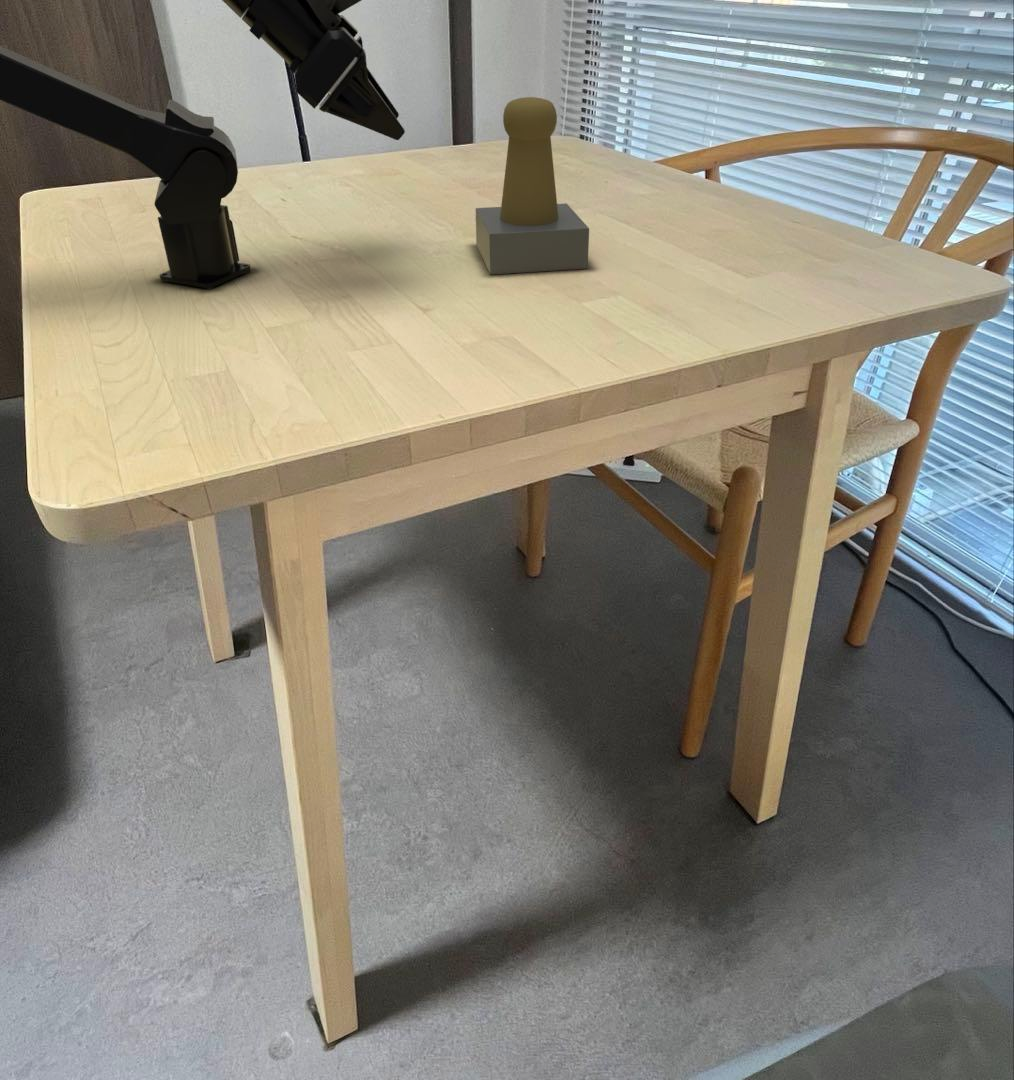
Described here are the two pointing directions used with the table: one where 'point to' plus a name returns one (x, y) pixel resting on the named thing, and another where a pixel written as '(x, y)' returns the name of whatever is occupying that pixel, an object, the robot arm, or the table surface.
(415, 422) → the table surface
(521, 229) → the grey block
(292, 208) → the table surface
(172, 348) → the table surface
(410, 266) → the table surface
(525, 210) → the olive brown pawn
